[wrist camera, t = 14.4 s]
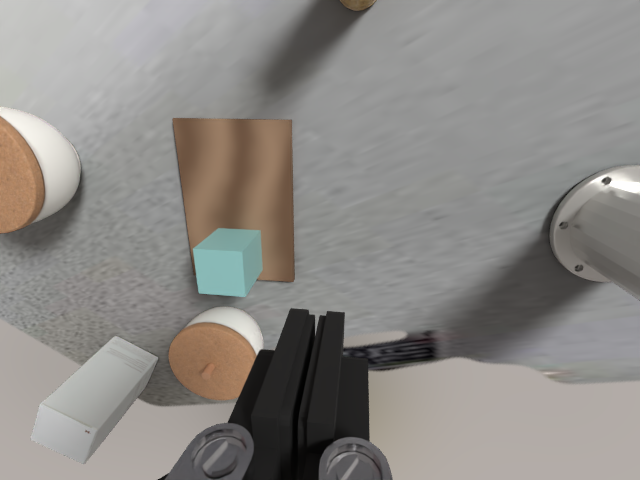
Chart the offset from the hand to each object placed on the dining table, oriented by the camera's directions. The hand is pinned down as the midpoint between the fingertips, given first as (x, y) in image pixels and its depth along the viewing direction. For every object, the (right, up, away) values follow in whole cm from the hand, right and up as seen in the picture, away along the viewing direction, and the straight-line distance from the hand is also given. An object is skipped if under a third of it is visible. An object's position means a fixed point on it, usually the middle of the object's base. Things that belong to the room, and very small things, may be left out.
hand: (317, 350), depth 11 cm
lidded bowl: (-32, +13, +31) cm, 46 cm away
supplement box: (-29, -15, +41) cm, 52 cm away
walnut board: (-10, +8, +30) cm, 32 cm away
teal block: (-10, +2, +31) cm, 32 cm away
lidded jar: (-12, -8, +36) cm, 39 cm away
